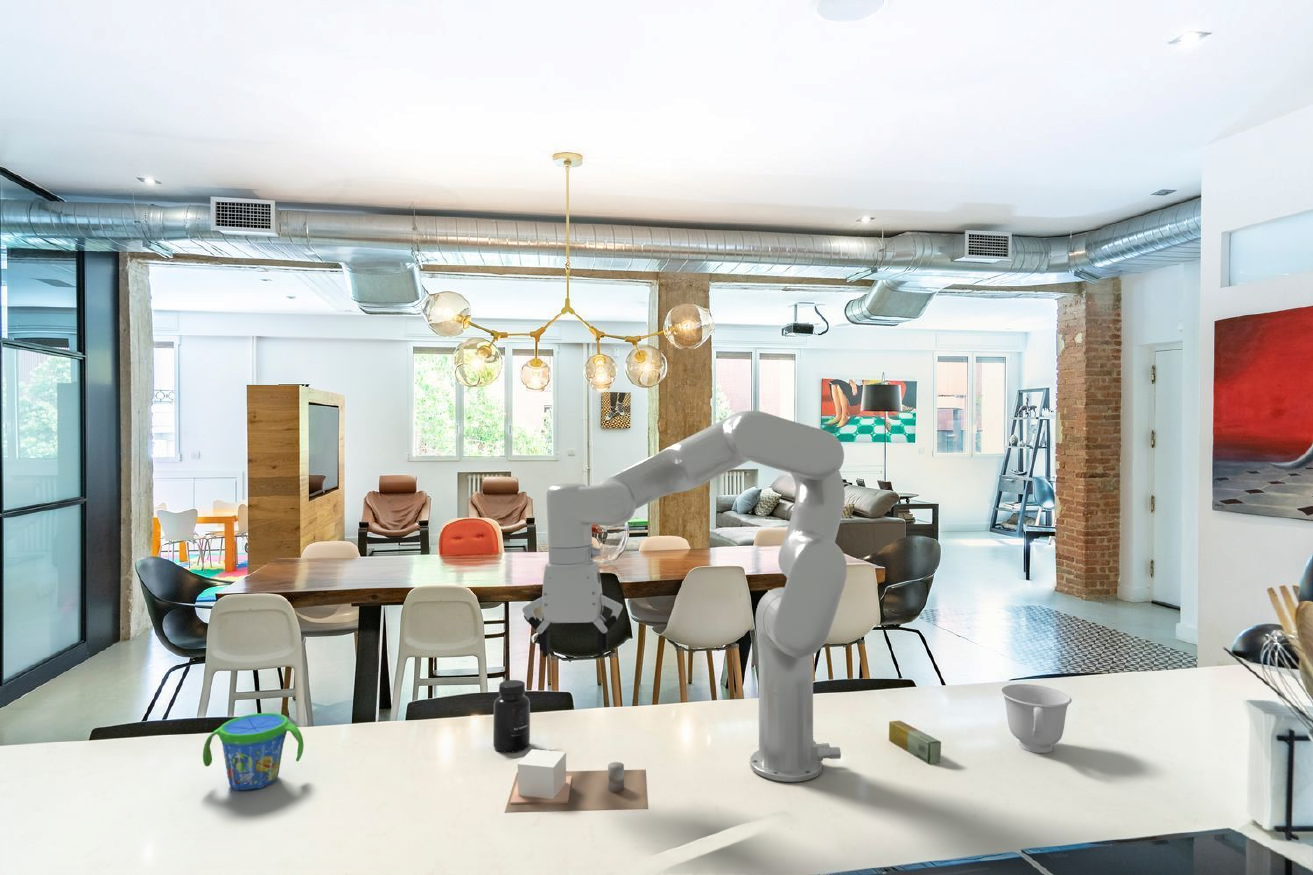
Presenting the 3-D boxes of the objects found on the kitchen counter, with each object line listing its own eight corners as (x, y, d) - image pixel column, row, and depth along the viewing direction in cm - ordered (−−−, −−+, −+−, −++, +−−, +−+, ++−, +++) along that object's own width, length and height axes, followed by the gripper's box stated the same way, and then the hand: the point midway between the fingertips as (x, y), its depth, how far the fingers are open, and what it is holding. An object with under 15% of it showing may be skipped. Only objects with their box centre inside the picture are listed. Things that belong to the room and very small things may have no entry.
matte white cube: (566, 782, 130) (566, 752, 130) (553, 798, 124) (553, 767, 124) (532, 778, 131) (531, 748, 131) (517, 795, 125) (517, 763, 125)
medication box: (942, 763, 141) (942, 741, 141) (929, 765, 140) (930, 743, 140) (899, 739, 152) (899, 718, 152) (887, 741, 151) (887, 720, 151)
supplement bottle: (522, 755, 145) (521, 690, 145) (487, 752, 147) (487, 688, 146) (535, 740, 152) (534, 678, 152) (502, 738, 153) (501, 676, 153)
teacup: (1002, 760, 142) (1001, 705, 142) (999, 731, 155) (999, 680, 155) (1077, 771, 137) (1077, 714, 137) (1068, 739, 151) (1067, 688, 151)
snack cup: (313, 767, 140) (312, 711, 140) (287, 795, 130) (287, 733, 130) (223, 769, 139) (222, 712, 139) (190, 797, 129) (190, 735, 129)
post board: (645, 778, 135) (645, 747, 135) (648, 818, 121) (647, 784, 121) (517, 781, 134) (516, 750, 134) (504, 821, 120) (504, 787, 120)
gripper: (623, 551, 138) (626, 647, 138) (526, 553, 140) (530, 648, 140) (617, 558, 131) (621, 660, 131) (515, 560, 132) (519, 661, 132)
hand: (574, 654), depth 135 cm, fingers open, 9 cm apart
